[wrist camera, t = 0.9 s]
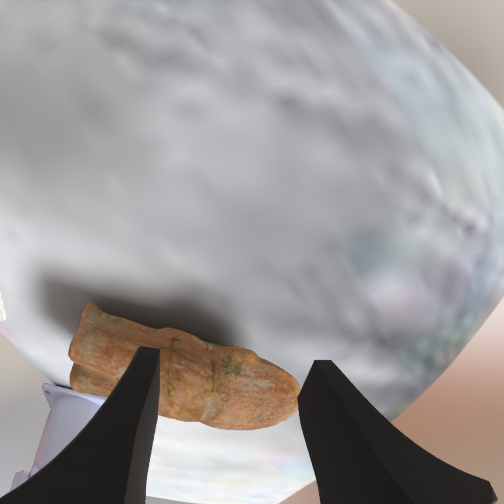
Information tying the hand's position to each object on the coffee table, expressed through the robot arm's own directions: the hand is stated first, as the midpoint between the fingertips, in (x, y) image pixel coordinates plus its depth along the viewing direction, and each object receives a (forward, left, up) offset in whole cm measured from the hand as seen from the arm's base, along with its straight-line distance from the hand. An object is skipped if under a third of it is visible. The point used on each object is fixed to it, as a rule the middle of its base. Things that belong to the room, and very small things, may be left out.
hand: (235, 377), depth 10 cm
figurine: (-6, +9, -6) cm, 12 cm away
